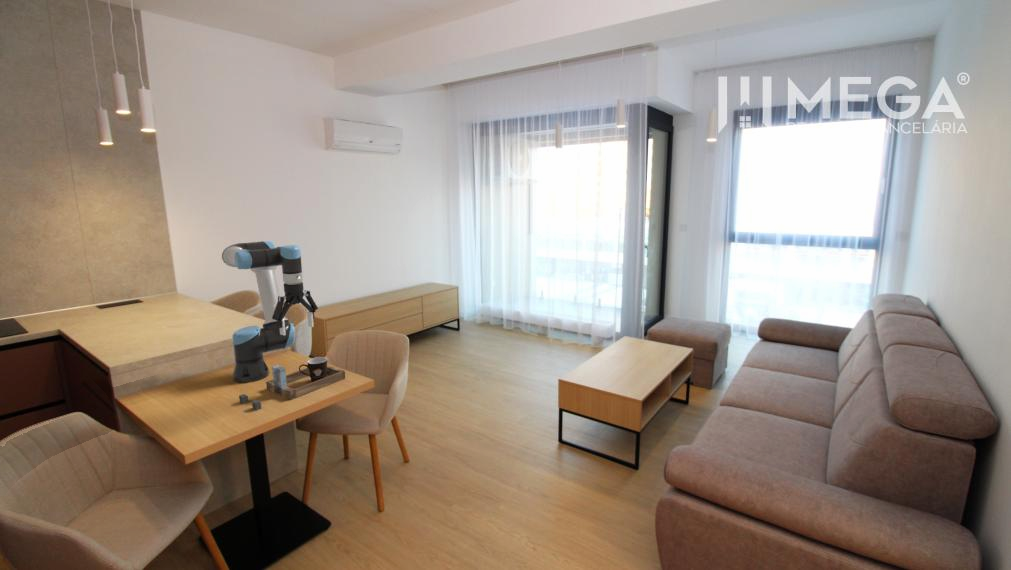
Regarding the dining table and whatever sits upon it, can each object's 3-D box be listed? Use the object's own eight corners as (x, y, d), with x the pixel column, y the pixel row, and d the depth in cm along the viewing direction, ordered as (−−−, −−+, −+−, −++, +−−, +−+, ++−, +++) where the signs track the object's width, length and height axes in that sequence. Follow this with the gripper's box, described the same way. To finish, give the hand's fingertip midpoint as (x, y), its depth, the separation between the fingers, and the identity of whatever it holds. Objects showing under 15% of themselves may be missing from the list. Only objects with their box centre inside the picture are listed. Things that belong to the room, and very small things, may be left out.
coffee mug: (332, 377, 224) (330, 357, 222) (323, 384, 216) (321, 364, 214) (308, 376, 225) (306, 356, 223) (299, 383, 217) (297, 363, 215)
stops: (239, 402, 199) (239, 395, 198) (244, 400, 200) (243, 393, 200) (256, 410, 192) (255, 403, 191) (261, 408, 193) (260, 401, 193)
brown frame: (267, 389, 211) (264, 363, 209) (321, 369, 233) (319, 346, 231) (291, 399, 201) (288, 372, 198) (345, 378, 223) (343, 353, 221)
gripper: (270, 289, 188) (275, 340, 193) (324, 278, 208) (327, 324, 213) (259, 286, 192) (264, 336, 196) (313, 276, 212) (316, 321, 217)
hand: (297, 330), depth 205 cm, fingers open, 13 cm apart
